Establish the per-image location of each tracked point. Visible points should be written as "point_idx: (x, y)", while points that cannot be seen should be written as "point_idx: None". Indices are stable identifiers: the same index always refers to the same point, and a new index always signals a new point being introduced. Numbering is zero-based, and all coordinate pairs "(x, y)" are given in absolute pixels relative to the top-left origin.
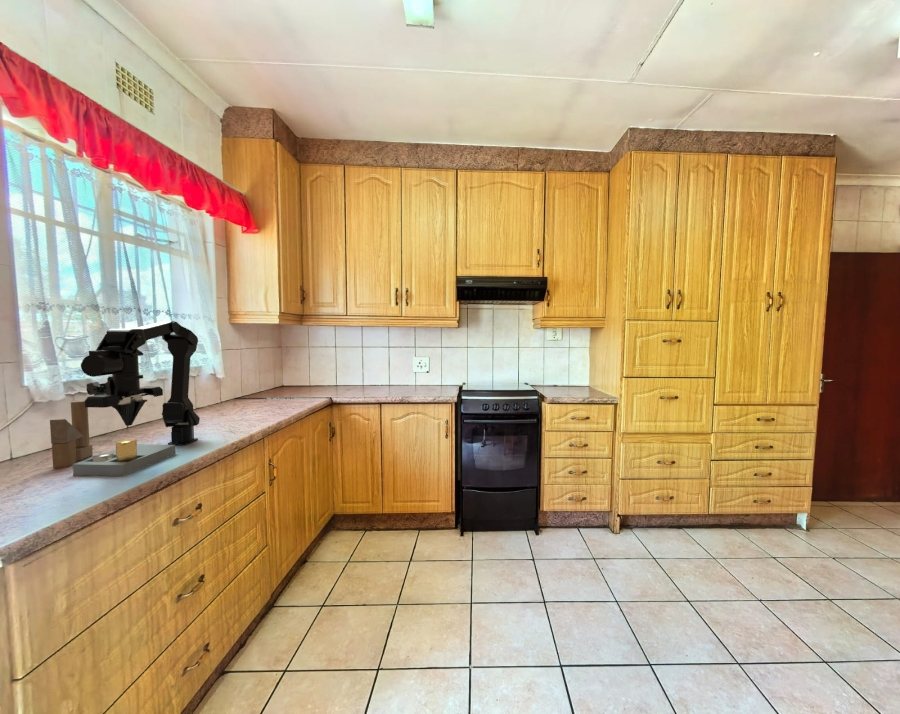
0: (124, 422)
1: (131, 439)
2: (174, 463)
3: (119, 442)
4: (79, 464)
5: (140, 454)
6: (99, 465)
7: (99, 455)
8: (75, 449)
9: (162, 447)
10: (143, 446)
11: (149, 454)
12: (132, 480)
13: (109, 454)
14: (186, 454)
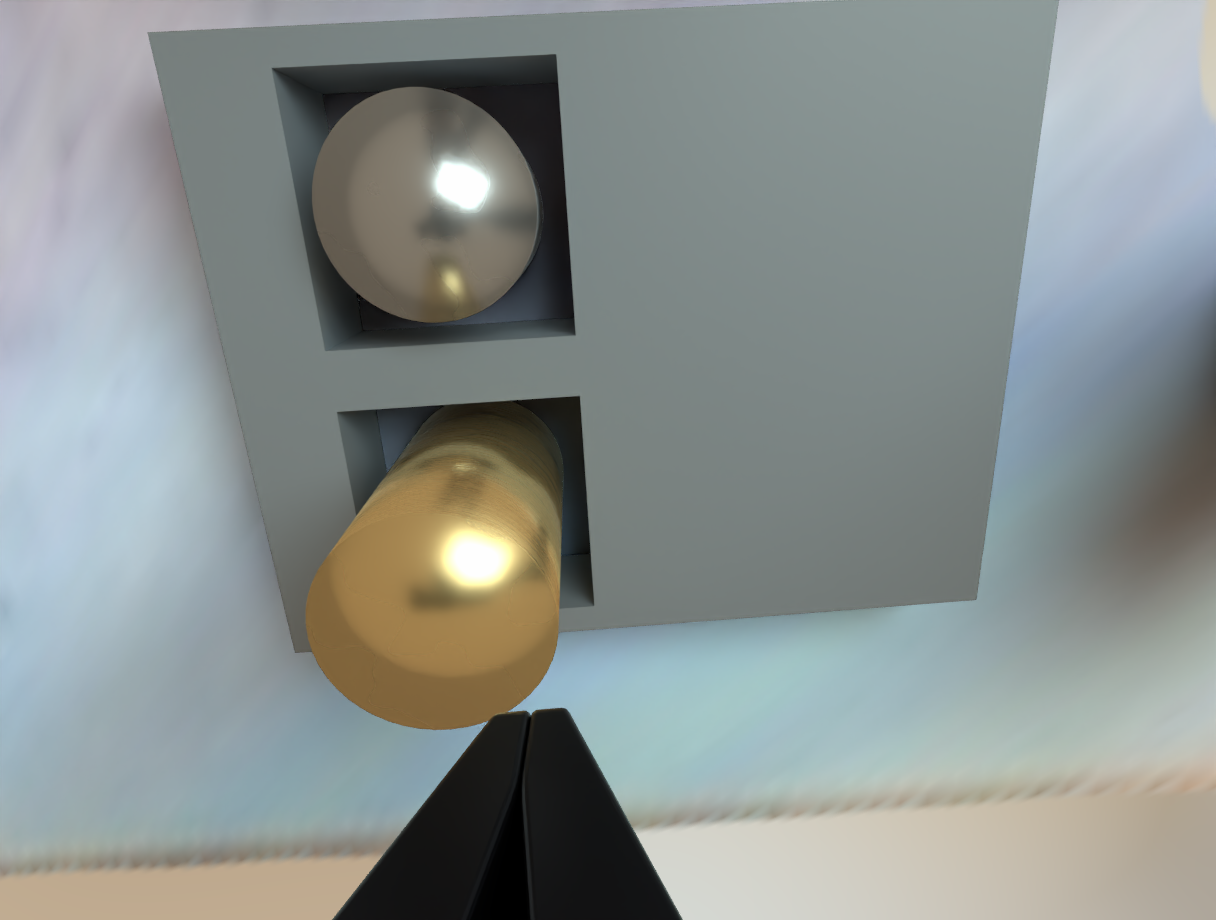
0: (456, 771)
1: (545, 603)
2: (664, 736)
3: (376, 573)
4: (174, 140)
5: (619, 527)
6: (243, 406)
7: (400, 172)
8: None
9: (878, 544)
10: (929, 273)
11: (627, 620)
12: (277, 741)
13: (461, 273)
14: (904, 652)
